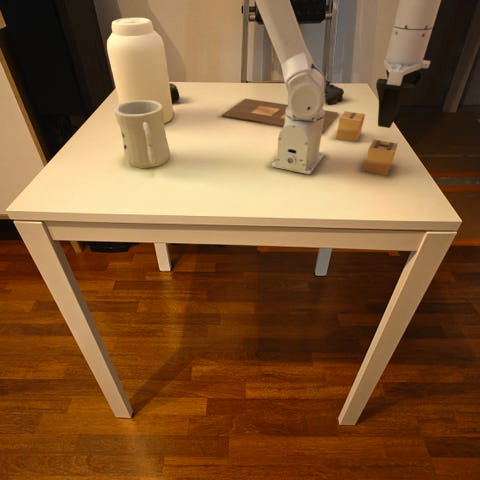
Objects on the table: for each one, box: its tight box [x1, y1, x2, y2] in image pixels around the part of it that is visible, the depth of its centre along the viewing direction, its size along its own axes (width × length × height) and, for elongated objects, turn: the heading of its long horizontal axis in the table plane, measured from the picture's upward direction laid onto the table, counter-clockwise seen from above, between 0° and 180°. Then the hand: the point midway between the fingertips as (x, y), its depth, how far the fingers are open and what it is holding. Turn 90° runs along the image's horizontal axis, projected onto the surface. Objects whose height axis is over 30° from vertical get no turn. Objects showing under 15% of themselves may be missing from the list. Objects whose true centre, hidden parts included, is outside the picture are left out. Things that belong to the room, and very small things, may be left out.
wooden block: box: [362, 139, 398, 176], centre depth 69 cm, size 4×4×5 cm
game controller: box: [324, 81, 345, 105], centre depth 100 cm, size 10×5×6 cm
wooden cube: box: [335, 110, 366, 143], centre depth 80 cm, size 4×4×5 cm
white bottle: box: [106, 17, 174, 124], centre depth 83 cm, size 12×12×20 cm
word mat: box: [221, 98, 339, 133], centre depth 91 cm, size 14×26×1 cm, turn 64°
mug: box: [114, 100, 171, 169], centre depth 69 cm, size 12×9×10 cm
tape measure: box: [169, 82, 181, 102], centre depth 98 cm, size 7×7×4 cm
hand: (387, 119), depth 65 cm, fingers open, 7 cm apart
